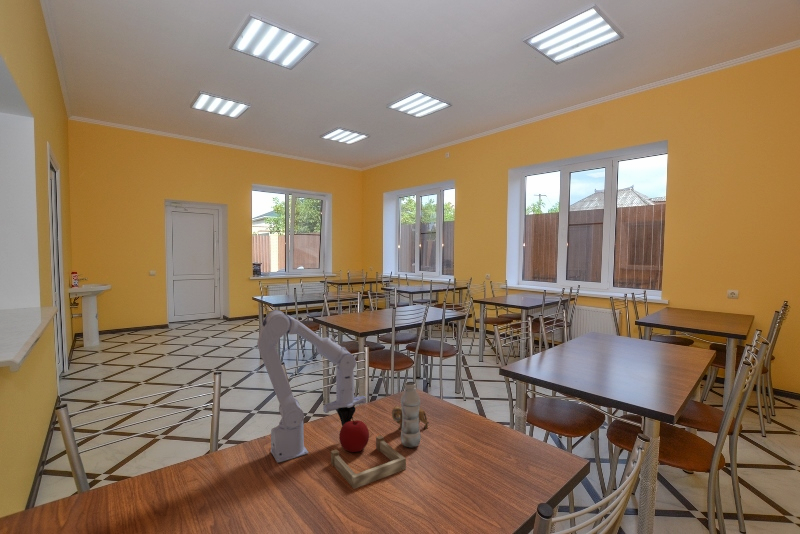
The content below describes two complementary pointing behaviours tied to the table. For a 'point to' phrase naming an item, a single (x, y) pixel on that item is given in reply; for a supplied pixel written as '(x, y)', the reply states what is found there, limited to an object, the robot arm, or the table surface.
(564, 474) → the table surface
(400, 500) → the table surface
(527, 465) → the table surface
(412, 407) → the plastic bottle
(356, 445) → the apple
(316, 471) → the table surface
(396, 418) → the lion figurine
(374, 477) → the corral
